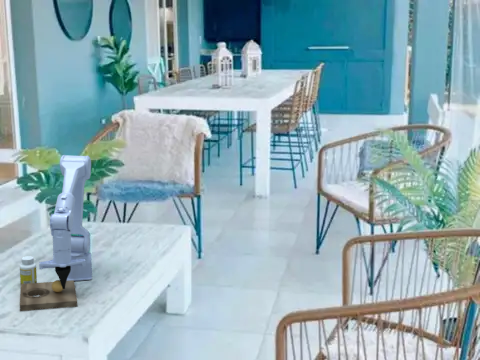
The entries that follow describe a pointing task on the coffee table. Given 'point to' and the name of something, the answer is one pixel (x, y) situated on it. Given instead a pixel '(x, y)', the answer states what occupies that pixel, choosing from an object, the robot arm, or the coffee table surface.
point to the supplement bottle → (28, 270)
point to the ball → (57, 286)
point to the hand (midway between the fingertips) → (62, 287)
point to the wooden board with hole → (46, 296)
